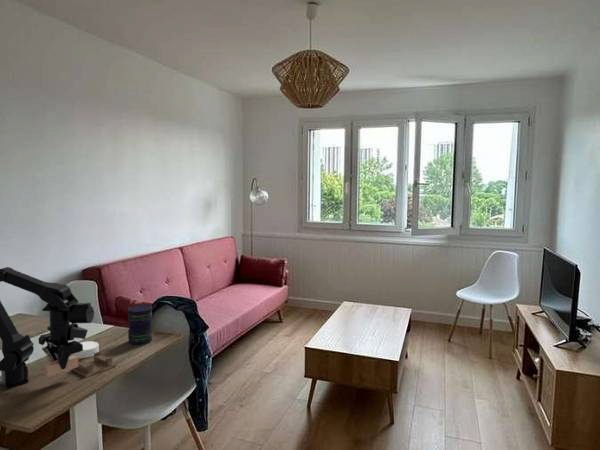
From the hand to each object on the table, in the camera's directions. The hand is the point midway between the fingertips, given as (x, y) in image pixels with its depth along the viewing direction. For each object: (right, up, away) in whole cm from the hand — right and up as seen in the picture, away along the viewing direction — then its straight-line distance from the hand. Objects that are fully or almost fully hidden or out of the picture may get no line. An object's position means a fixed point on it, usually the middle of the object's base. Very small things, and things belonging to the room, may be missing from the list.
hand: (61, 367), depth 138 cm
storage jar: (+12, -2, +39) cm, 41 cm away
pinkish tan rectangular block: (0, -1, 0) cm, 1 cm away
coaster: (-5, -4, +25) cm, 26 cm away
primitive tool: (-18, -4, +25) cm, 31 cm away
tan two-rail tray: (+5, -4, +12) cm, 14 cm away
